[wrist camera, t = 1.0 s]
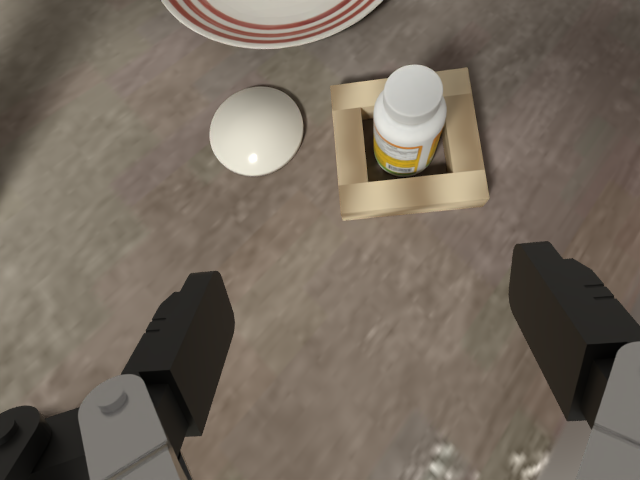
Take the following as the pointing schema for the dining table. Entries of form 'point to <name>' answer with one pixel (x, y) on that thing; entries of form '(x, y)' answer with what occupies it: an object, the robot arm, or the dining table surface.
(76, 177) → the dining table surface
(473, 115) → the birch pocket block
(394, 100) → the supplement bottle
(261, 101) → the pale ceramic coaster
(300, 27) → the dinner plate
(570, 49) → the dining table surface
